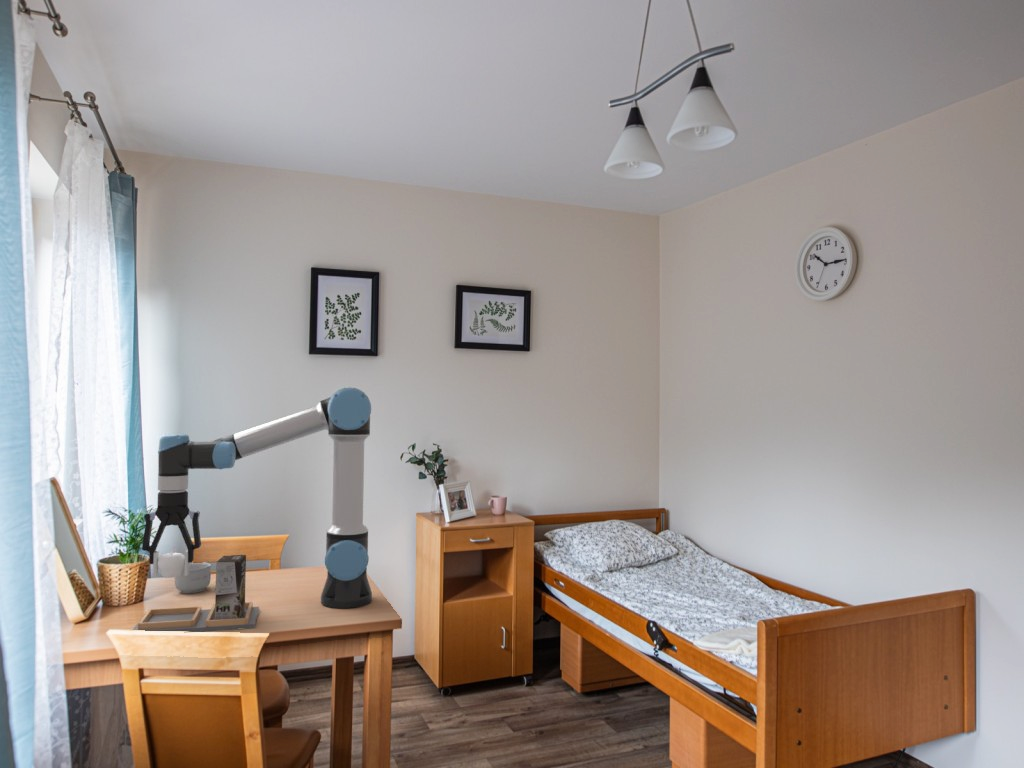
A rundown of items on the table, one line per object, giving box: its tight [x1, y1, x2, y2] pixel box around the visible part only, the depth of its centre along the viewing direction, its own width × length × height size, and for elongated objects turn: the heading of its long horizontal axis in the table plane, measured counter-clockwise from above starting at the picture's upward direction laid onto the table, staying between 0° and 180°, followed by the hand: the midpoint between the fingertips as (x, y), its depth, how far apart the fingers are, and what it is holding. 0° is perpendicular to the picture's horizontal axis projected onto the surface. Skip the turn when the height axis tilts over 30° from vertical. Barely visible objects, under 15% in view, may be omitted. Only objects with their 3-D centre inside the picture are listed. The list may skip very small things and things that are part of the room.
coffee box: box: [214, 554, 247, 620], centre depth 202 cm, size 9×6×16 cm
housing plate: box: [132, 601, 260, 632], centre depth 199 cm, size 30×17×2 cm, turn 105°
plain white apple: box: [157, 546, 185, 579], centre depth 199 cm, size 7×7×8 cm
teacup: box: [173, 561, 212, 594], centre depth 232 cm, size 14×11×8 cm
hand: (171, 575), depth 199 cm, fingers closed on plain white apple, 7 cm apart
